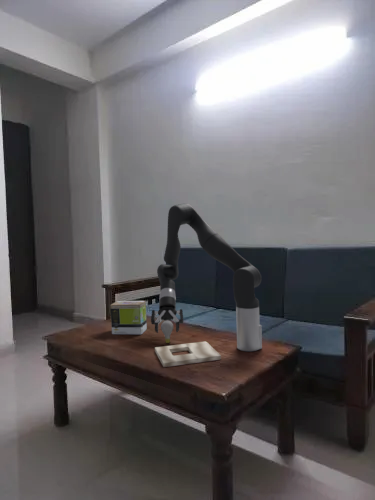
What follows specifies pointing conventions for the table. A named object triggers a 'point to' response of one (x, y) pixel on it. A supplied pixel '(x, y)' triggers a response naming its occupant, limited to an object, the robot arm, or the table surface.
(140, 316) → the tea box
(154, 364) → the table surface
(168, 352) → the cream board with hole
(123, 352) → the table surface
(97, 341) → the table surface
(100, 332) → the table surface
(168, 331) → the light bulb
